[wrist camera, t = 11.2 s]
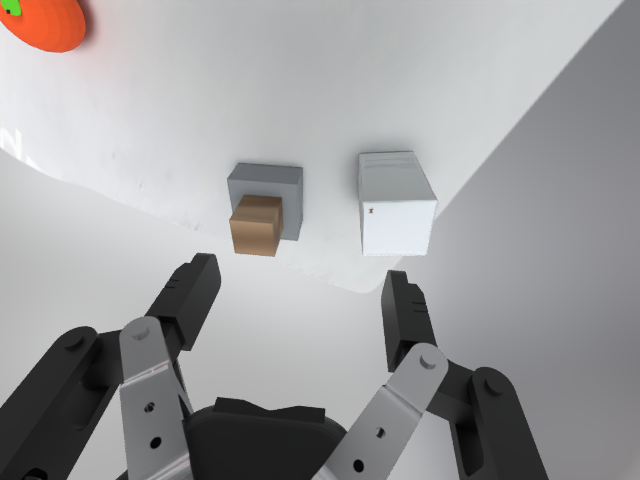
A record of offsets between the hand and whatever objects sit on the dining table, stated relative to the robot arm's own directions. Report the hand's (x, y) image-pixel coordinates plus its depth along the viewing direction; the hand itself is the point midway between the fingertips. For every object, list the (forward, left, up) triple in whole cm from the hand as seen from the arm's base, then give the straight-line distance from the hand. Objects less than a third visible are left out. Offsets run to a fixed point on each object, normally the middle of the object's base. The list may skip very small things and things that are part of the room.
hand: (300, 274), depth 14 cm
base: (+12, -8, -28) cm, 32 cm away
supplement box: (+8, +8, -28) cm, 31 cm away
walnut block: (+12, -8, -23) cm, 27 cm away
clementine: (-9, -29, -28) cm, 42 cm away
